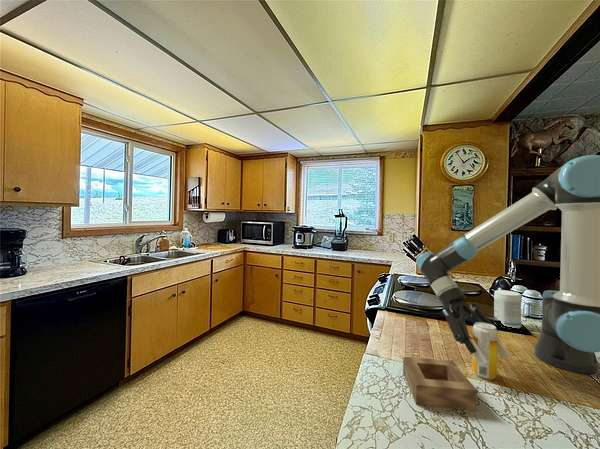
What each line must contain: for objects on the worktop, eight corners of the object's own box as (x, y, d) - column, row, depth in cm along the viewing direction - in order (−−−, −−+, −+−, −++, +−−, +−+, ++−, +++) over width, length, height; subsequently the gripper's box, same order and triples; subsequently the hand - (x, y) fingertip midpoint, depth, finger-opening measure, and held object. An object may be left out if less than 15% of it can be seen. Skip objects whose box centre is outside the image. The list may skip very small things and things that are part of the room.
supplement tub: (524, 326, 118) (525, 293, 118) (516, 331, 113) (516, 296, 113) (498, 319, 127) (499, 288, 126) (489, 323, 121) (490, 291, 121)
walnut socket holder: (452, 377, 79) (452, 360, 79) (476, 410, 66) (476, 390, 65) (403, 373, 81) (403, 356, 81) (416, 404, 68) (416, 384, 67)
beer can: (495, 373, 82) (496, 324, 82) (497, 383, 77) (498, 331, 76) (471, 367, 85) (472, 320, 85) (472, 376, 80) (473, 326, 80)
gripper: (463, 295, 99) (509, 358, 84) (417, 301, 91) (460, 372, 76) (477, 283, 94) (529, 349, 79) (430, 289, 86) (479, 363, 71)
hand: (495, 360), depth 78 cm, fingers open, 9 cm apart
